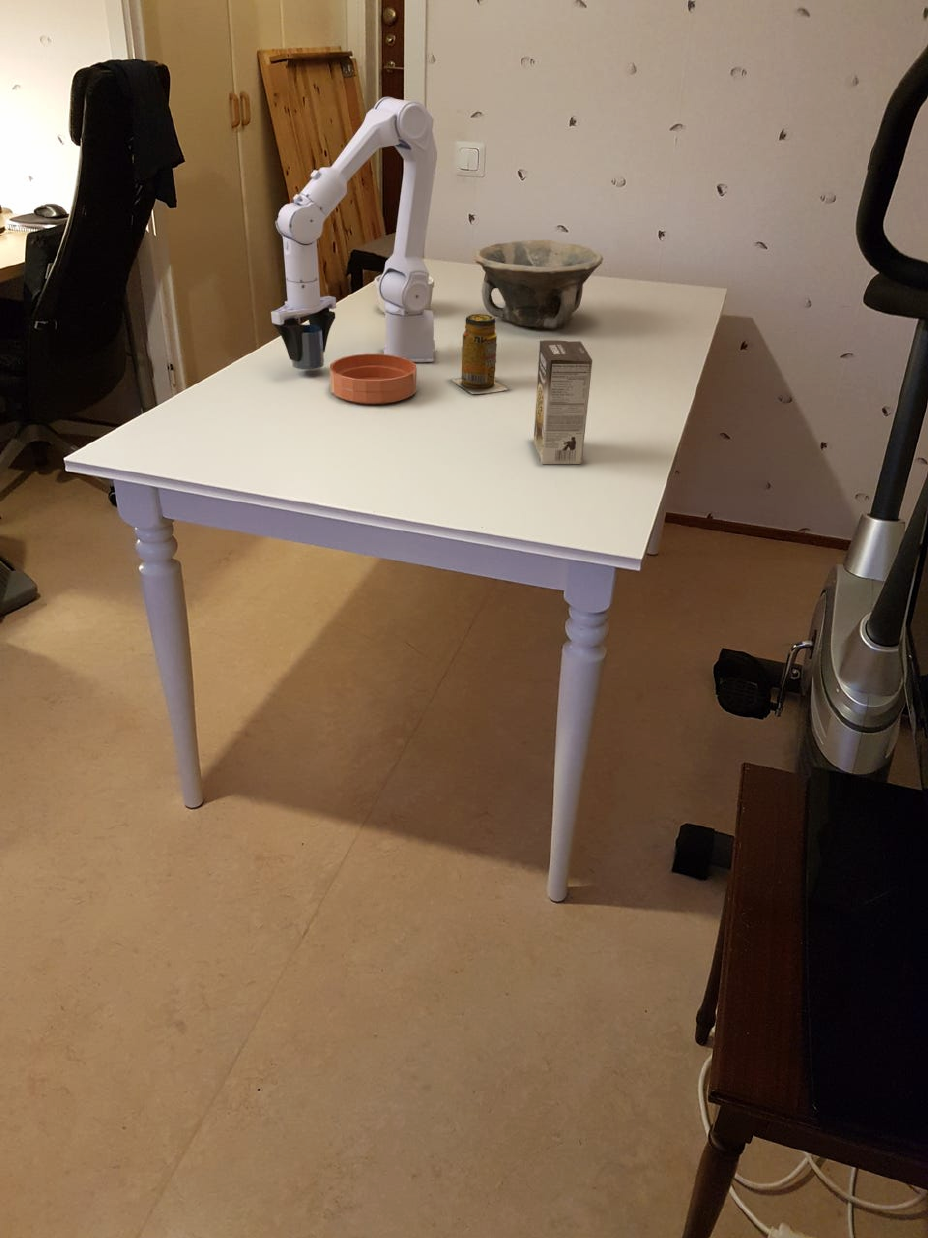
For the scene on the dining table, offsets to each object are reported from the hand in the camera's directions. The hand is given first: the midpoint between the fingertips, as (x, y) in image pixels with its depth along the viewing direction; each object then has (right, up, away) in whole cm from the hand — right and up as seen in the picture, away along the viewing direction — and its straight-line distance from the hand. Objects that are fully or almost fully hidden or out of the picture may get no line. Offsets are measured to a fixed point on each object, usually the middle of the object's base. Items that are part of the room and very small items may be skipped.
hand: (307, 355), depth 172 cm
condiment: (+31, -6, -1) cm, 32 cm away
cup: (0, -1, +1) cm, 2 cm away
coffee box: (+43, -23, -27) cm, 55 cm away
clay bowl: (+13, -8, -6) cm, 16 cm away
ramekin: (+15, +21, +39) cm, 47 cm away
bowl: (+44, +17, +34) cm, 58 cm away
